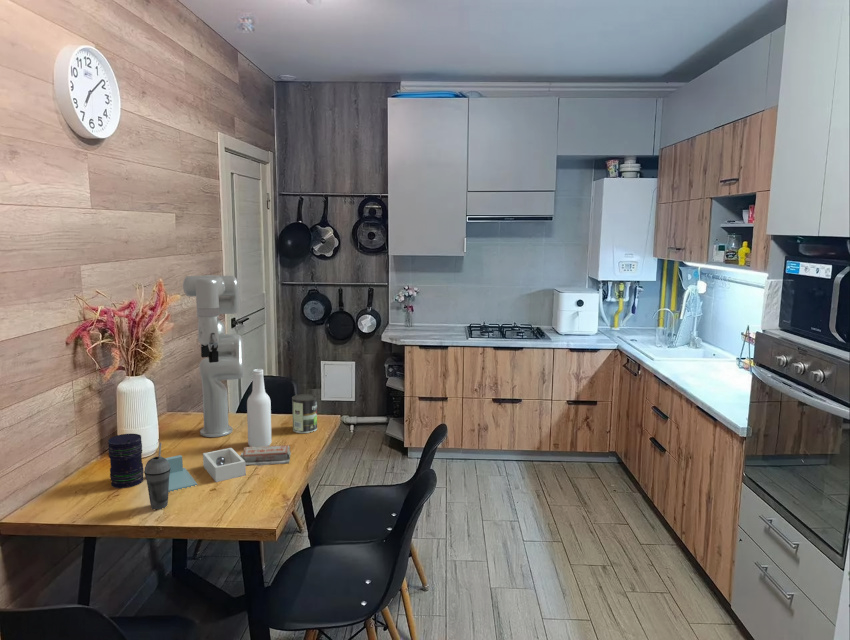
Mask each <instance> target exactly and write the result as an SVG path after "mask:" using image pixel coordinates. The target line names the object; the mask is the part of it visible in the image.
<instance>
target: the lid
mask: <svg viewBox="0 0 850 640" xmlns="http://www.w3.org/2000/svg"><path fill="white" fill-rule="evenodd" d="M164 458H165V459H166V460H167V461H168V462H169V464H170V468H171V470H170V475H169V492H168V493H171V492H170V491H172V492H175V491H174V490H177V491H179V490H178V489H181V490H183V489H182V488H185V489H188V488H187V487H189V488H192V487H191V486H194V487H196V486H195V485H197V486H198V483H197V482H196V480H195V478H193V476H192V475H191V474H190V472H189V471H188V470H187V468H186V467H184V466H183V465H184V464H183V456H182V454H179V455H175V456H174V455H173V456H169V457H164Z"/></svg>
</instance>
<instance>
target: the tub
mask: <svg viewBox="0 0 850 640" xmlns="http://www.w3.org/2000/svg"><path fill="white" fill-rule="evenodd" d="M240 456H241V455H239V454H238V452H237V451H236V450H234V448H232V447H228V448H222V449H218V450H213V451H209V452H203V453H202V458H203V459H202V460H203V461H202V464H203V468H204V469H205V470H207V471H206V472H207V473H208V474H209V475H210V477H211V478H212V480H214V482H215V483H218V482H222V481H223V482H224V481H227V480H232V479H235V478H241V477H244V476H247V473H246V472H247V471H246V470H247V468H246V466H247V465H246V464H245V460H243V459H242V458H241V457H240ZM218 457H224V458H225V463H224V465H221V466H217V465H216V460H217V458H218Z"/></svg>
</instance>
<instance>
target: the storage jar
mask: <svg viewBox="0 0 850 640" xmlns="http://www.w3.org/2000/svg"><path fill="white" fill-rule="evenodd" d="M142 442H143V441H142V435H141V434H138V433H122V434H117V435H115V436H112V437H110V438H109V439H108V441H107V443H108V446H107V447H108V448H107V449H108V450H107V451H108V457H109V462H110V468H109V471H110V472H109V478H110V485H111V487H112V488H114V489H129V488H132V487H136V486H138V485H141V484H142V483H143V482H144V471H145V468H144V463H143V459H142V458H143V457H142V453H143V443H142Z"/></svg>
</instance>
